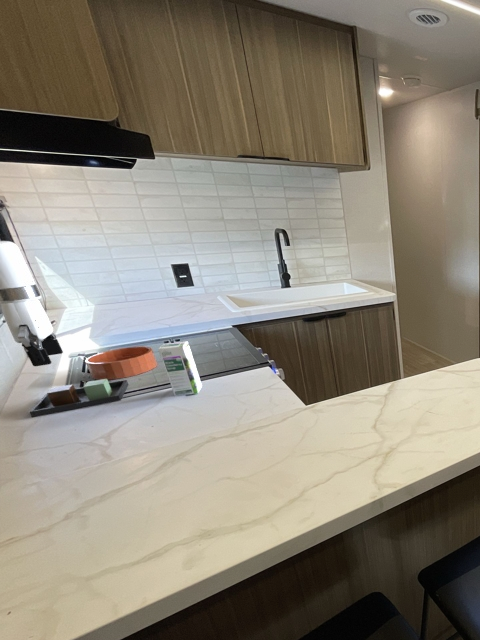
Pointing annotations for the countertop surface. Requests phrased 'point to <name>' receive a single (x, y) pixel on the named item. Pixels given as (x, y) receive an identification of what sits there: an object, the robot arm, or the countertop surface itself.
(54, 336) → the robot arm
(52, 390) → the walnut block
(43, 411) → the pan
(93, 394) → the sage block
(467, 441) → the countertop surface
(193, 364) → the syrup box
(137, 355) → the bowl
